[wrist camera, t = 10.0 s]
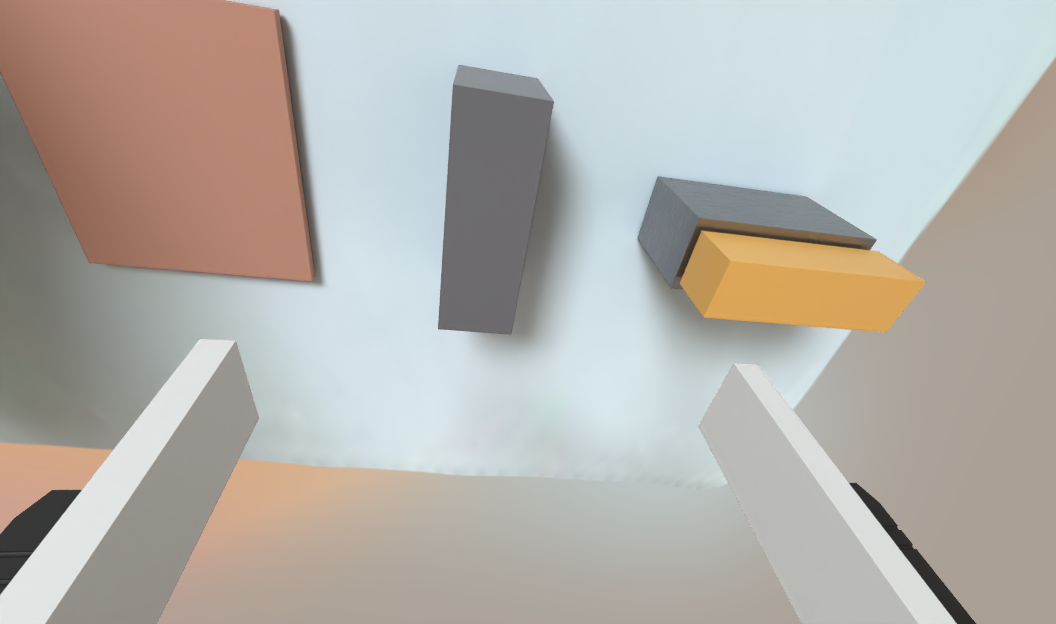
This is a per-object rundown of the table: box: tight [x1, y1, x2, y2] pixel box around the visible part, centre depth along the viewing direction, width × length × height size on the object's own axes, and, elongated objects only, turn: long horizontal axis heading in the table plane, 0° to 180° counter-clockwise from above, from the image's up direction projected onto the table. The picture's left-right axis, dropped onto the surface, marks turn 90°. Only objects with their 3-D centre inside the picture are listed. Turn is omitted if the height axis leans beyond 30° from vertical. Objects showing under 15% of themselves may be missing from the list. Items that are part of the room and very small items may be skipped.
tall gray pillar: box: [438, 65, 554, 334], centre depth 23 cm, size 4×12×6 cm, turn 170°
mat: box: [0, 0, 315, 281], centre depth 22 cm, size 12×14×1 cm
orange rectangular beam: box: [680, 231, 926, 332], centre depth 22 cm, size 10×3×3 cm, turn 81°
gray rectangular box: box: [638, 177, 877, 289], centre depth 25 cm, size 10×4×6 cm, turn 81°
